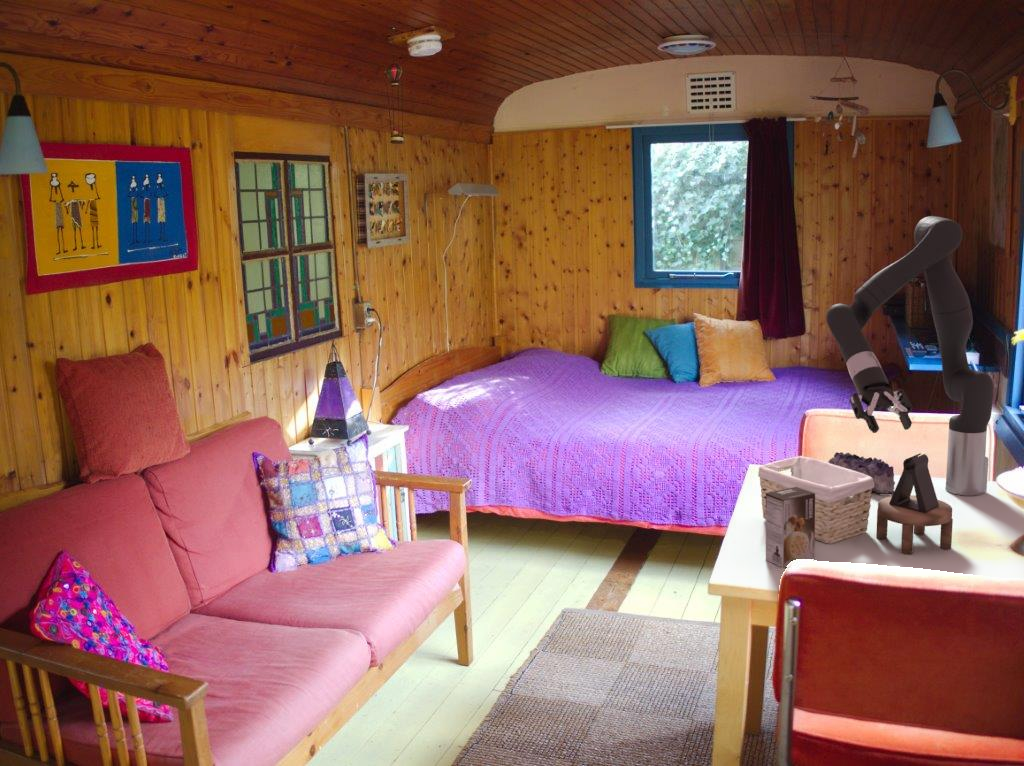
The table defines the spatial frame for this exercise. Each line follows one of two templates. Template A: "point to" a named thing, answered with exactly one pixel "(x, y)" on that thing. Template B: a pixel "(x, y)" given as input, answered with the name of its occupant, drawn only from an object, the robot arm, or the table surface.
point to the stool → (914, 522)
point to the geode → (868, 470)
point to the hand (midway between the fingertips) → (892, 429)
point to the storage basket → (824, 494)
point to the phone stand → (915, 486)
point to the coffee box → (790, 525)
